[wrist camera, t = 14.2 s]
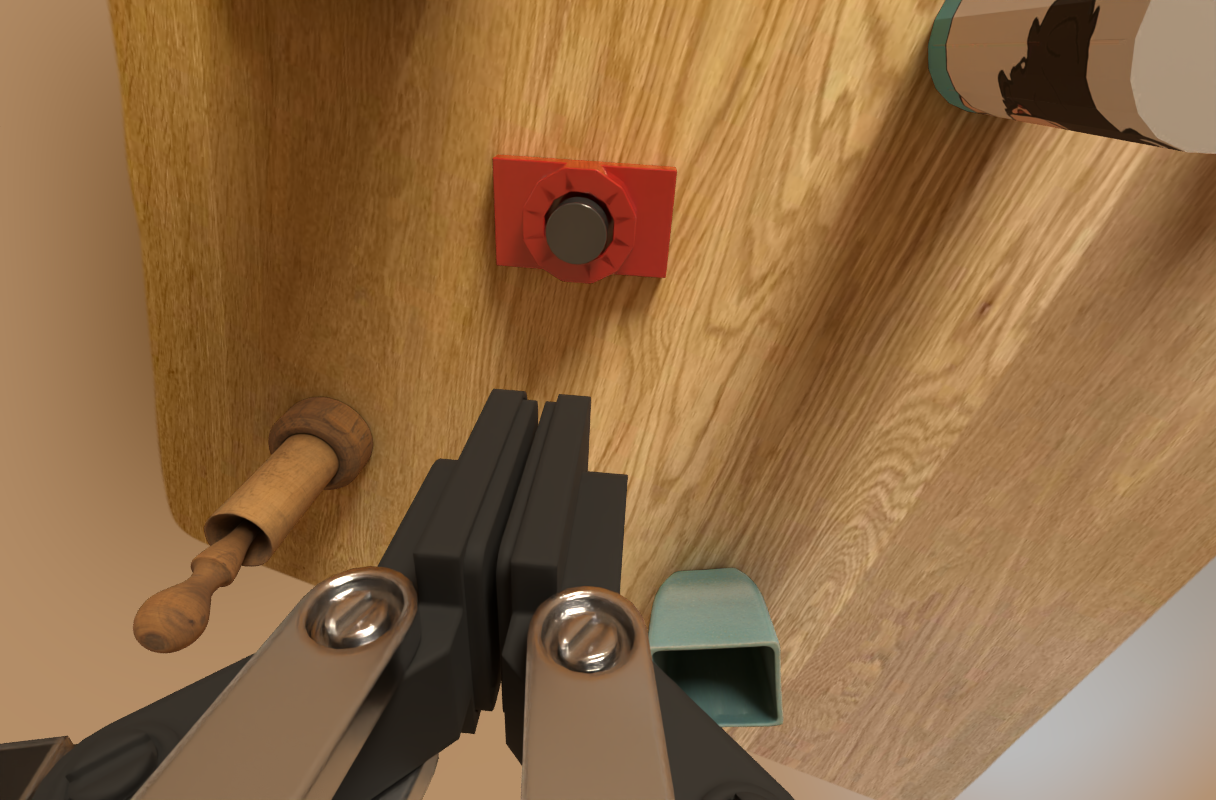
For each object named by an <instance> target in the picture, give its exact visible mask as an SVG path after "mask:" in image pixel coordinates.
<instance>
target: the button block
mask: <svg viewBox="0 0 1216 800" xmlns="http://www.w3.org/2000/svg"><path fill="white" fill-rule="evenodd" d="M492 160H493V187H494V215H495V242H496V264H497V265H498V266H511V267H524V268H538V269H544V270H545V271H547V272H548V273H550V274H552V275H553V276H555V277H556V278H558V279H559V280H561V281H564V282H576V283H589V284H590V283H594V282H597V281H599V280H601V279H603V278H605V277H607V276H609V275H611V274H617V275H630V276H643V277H657V278H665V277H666V271H667V261H668V252H669V242H670V233H671V224H672V214H673V205H674V195H675V186H676V176H677V169H676V167H669V166H655V165H640V164H626V163H612V162H597V161H583V160H569V159H554V158H540V157H526V156H511V155H496V156H495V157H493V159H492ZM575 196H581V197H586V198H589V199H592V200H593V201H595V202H596V203H598V204H599V205H600V206H601V207H602V209H603V210H604V212H605V213H606V216H607V218H608V223H609V232H608V236H607V240H606V244H605V247H604V249H603V251H602V252H601V254H600V255H599V256H598V257H597V258H596V259H594V260H593V261H591V262H589V263H586V264H580V265H574V264H569V263H566V262H564V261H562V260H560V259H559V258H558V257H556V256H555V255H554V254H553V252H552V251H551V250H550V248H549V246H548V244H547V241H546V234H545V231H546V224H547V221H548V219H549V217H550V216H551V214H552V212H553V211H554V209H555V208H556V207H557V205H558V204H559V203H561V202H562V201H564V200H565V199H567V198H570V197H575Z"/></svg>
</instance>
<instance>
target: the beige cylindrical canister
mask: <svg viewBox="0 0 1216 800" xmlns="http://www.w3.org/2000/svg"><path fill="white" fill-rule="evenodd" d="M928 69H929V71H930V74H931V77H932V80H933V82H934V85H935V88H936V89H937V90H938V91H939V93H940V94H941V95H942V96H943V97H944V98H945V99H946V100H947V101H948V103H950V104H952V105H955V106H957V107H959V108H961V109H963V110H965V111H969V112H974V113H980V114H985V115H990V116H996V117H1001V118H1007V119H1012V120H1017V121H1023V122H1028V123H1033V124H1039V125H1044V126H1050V127H1055V128H1060V129H1066V130H1071V131H1076V132H1082V133H1087V134H1092V135H1098V136H1103V137H1109V138H1114V139H1119V140H1125V141H1130V142H1135V143H1141V144H1146V145H1152V146H1157V147H1162V148H1168V149H1173V150H1178V151H1184V152H1195V153H1212V154H1216V0H946V1H945V2H944V4H943V6H942V8H941V10H940V11H939V13H938V15H937V17H936V19H935V21H934V25H933V28H932V32H931V36H930V40H929V43H928Z"/></svg>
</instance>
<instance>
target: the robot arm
mask: <svg viewBox="0 0 1216 800" xmlns="http://www.w3.org/2000/svg"><path fill="white" fill-rule="evenodd" d="M590 412H591V397H588V396H576V395H563V394H559V396H558V399H557V402H548V401H546V403H545V406H544V409H543V412H542V415H541V418H540V421H539V424H538V403H537V401H536V400H527V394H526V392H525V391H515V390H503V389H493V390H492V391H491V393H490V395H489V398H488V400H487V402H486V404H485V406H484V408H483V410H482V412H481V414H480V416H479V418H478V420H477V422H476V424H475V426H474V428H473V430H472V432H471V434H470V437H469V439H468V441H467V443H466V445H465V447H464V449H463V451H462V453H461V455H460V457H459V459H458V460H451V459H438V460H436V461H435V463H434V464H433V465H432V467H431V469H430V471H429V473H428V474H427V476H426V478H425V480H424V482H423V484H422V486H421V487H420V489H419V491H418V493H417V495H416V497H415V498H414V500H413V502H412V504H411V506H410V508H409V509H408V511H407V513H406V515H405V517H404V519H403V520H402V522H401V524H400V526H399V528H398V530H397V532H396V533H395V535H394V537H393V539H392V541H391V543H390V544H389V546H388V548H387V550H386V552H385V554H384V555H383V557H382V559H381V561H380V563H379V565H378V567H374V566H368V567H360V568H353V569H349V570H347V571H344V572H341V573H338V574H335V575H333V576H331V577H329V578H328V579H326V580H324V581H322V582H321V583H319V584H317V585H316V586H315V587H314V588H313V589H312V590H311V591H310V592H308V593H307V594H306V595H305V596H304V597H303V598H302V599H301V600H300V602H299V603H298V604H297V605H296V606H295V607H294V609H293V610H292V611H291V612H290V613H289V614H288V616H287V617H286V618H285V619H284V620H283V621H282V623H281V624H280V625H279V626H278V627H277V628H276V630H275V631H274V632H273V633H272V634H271V635H270V637H269V638H268V639H267V640H266V641H265V642H264V644H263V645H262V646H261V647H260V648H259V650H258V651H257V652H256V653H254V654H252V655H250V656H248V657H246V658H244V659H242V660H240V661H238V662H236V663H234V664H231V665H229V666H227V667H225V668H223V669H221V670H219V671H217V672H215V673H213V674H211V675H209V676H207V677H205V678H203V679H201V680H199V681H197V682H195V683H193V684H191V685H189V686H186V687H185V688H183V689H180V690H179V691H176V692H174V693H172V694H170V695H168V696H166V697H164V698H162V699H160V700H158V701H156V702H154V703H152V704H150V705H148V706H146V707H144V708H142V709H139V710H138V711H136V712H133V713H131V714H129V715H127V716H125V717H123V718H121V719H119V720H117V721H115V722H113V723H111V724H109V725H107V726H105V727H104V728H102V729H100V730H99V731H97V732H95V733H94V734H92V735H91V736H89V737H87V738H85V739H84V740H82V741H81V742H80V743H79V744H74V745H73V743H72V741H71V740H70V738H69V737H68V736H62V737H53V738H45V739H37V740H28V741H20V742H12V743H4V744H0V800H422V799H423V797H424V795H425V792H426V790H427V788H428V786H429V784H430V782H431V779H432V777H433V775H434V772H435V769H436V766H437V762H438V759H439V757H438V755H439V754H438V753H439V752H441V751H442V750H443V749H445V748H446V747H448V746H449V745H450V744H452V743H453V742H455V741H456V740H458V739H459V737H460V733H471V734H475V731H476V727H477V723H478V719H479V716H480V712H481V710H485V711H492V710H493V709H494V707H495V703H496V700H497V695H498V692H499V688H500V683H502V704H503V712H504V713H505V732H506V744H507V745H508V747H509V748H510V750H511V751H512V752H513V754H514V755H515V757H516V758H517V759H518V761H519V762H520V764H521V765H522V783H521V800H794V799H793V797H792V796H791V795H790V794H789V793H788V792H787V791H786V790H785V789H784V788H783V787H782V786H781V785H780V784H779V783H778V782H777V781H776V780H775V779H774V778H773V777H771V775H769V773H768V772H766V771H765V770H764V769H763V768H762V767H761V766H760V765H759V764H758V763H757V762H756V761H755V760H754V759H753V758H752V757H751V756H750V755H749V754H748V753H747V752H746V751H745V750H744V749H743V748H742V747H741V746H740V745H739V744H738V743H737V742H736V741H734V740H733V739H732V738H731V737H730V736H729V735H728V734H727V733H726V732H725V731H724V730H723V729H722V728H721V727H720V726H719V725H718V724H717V723H716V722H715V721H714V720H713V719H712V718H711V717H710V716H709V715H708V714H707V713H706V712H705V711H703V710H702V709H701V708H700V707H699V706H698V705H697V704H696V703H695V702H694V701H693V700H692V699H691V698H690V697H689V696H688V695H687V694H686V693H685V692H684V691H683V690H682V689H681V688H680V687H679V686H678V685H677V684H676V683H675V682H674V681H672V680H671V679H670V678H669V677H668V676H667V675H666V674H665V673H664V672H663V671H662V670H661V669H660V668H659V667H658V666H657V665H656V664H655V663H654V662H653V661H652V656H651V650H650V644H649V637H648V631H647V628H646V625H645V622H644V619H643V617H642V615H641V613H640V612H639V611H638V610H637V608H636V607H635V606H634V605H633V603H632V602H630V601H629V600H627V599H626V598H624V597H623V596H621V595H620V582H621V568H622V553H623V538H624V524H625V509H626V495H627V480H628V475H624V474H612V473H601V472H589V471H588V454H589V433H590Z"/></svg>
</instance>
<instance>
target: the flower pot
mask: <svg viewBox="0 0 1216 800" xmlns="http://www.w3.org/2000/svg"><path fill="white" fill-rule="evenodd" d="M648 637H649V644H650V650H651V656H652V661H653V662H654V663H655V664H656V665H657V666H658V667H659V668H660V669H661V670H662V671H663V672H664V673H665V674H666V675H667V676H668V677H669V678H670V679H671V680H672V681H674V682H675V683H676V684H677V685H678V686H679V687H680V688H681V689H682V690H683V691H684V692H685V693H686V694H687V695H688V696H689V697H690V698H691V699H692V700H693V701H694V702H695V703H696V704H697V705H698V706H699V707H700V708H701V709H702V710H703V711H705V712H706V713H707V714H708V715H709V716H710V717H711V718H712V719H713V720H714V721H715V722H716V723H717V724H718V725H719V726H720V727H764V726H776V725H781V724H783V708H782V693H781V666H780V663H781V662H780V653H781V650H780V644H779V641H778V638H777V635H776V632H775V630H774V627H773V624H772V621H771V618H770V615H769V612H768V609H767V606H766V604H765V601H764V598H763V596H762V594H761V592H760V590H759V589H758V587H757V586H756V584H755V583H754V582H753V581H752V580H751V579H750V578H749V577H748V576H747V575H746V574H744V573H743V572H741V571H740V570H738V569H736V568H720V569H708V570H691V571H678V572H675V573H673V574H672V575H671V576H670V577H669V578H667V579H666V580H665V582H664V583H663V584H662V585H661V587H660V588H659V590H658V592H657V594H656V596H655V599H654V602H653V606H652V611H651V618H650V624H649V630H648Z"/></svg>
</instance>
